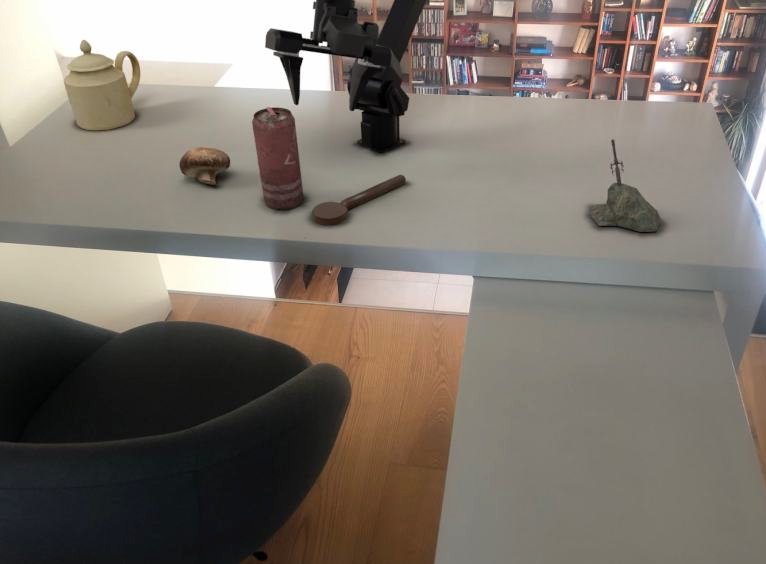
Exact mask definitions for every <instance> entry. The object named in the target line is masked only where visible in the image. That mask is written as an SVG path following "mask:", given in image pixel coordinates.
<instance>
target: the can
mask: <svg viewBox="0 0 766 564" xmlns="http://www.w3.org/2000/svg"><path fill="white" fill-rule="evenodd" d="M251 125H252V132H253V137H254V144H255V151H256V156H257V157H256V158H257V164H258V171H259V176H260V177H259V178H260V184H261V191H262V197H263V202H264V204H265V205H266V206H267V207H268V208H270V209H272V210H275V211H288V210H292V209H295V208H297V207H299V206H300V205H301V204H302V202H303V200H304V191H303V188H304V187H303V180H302V172H301V163H300V162H301V161H300V153H299V146H298V135H297V127H296V126H297V125H296V118H295V117H294V115H293V114H292V111H291V110H290V109H288V108H285V107H270V106H267V107H266V108H262V109H259V110H257V111H255V112H254V113H253V117H252V121H251Z"/></svg>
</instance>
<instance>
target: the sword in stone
mask: <svg viewBox="0 0 766 564" xmlns="http://www.w3.org/2000/svg"><path fill="white" fill-rule="evenodd" d="M610 142H611V147H612V153H613V161H611V163H610V165H609V166H610V170H611V174H612V176H613V177H614V172H615V177H616V182H613V183H612V184H611V185H610V186H609V187H608V188H607V197H606V198H607V200H606V203H601V204H596V205H594V206H592V208H591V211H590V217H591V218H592V219H593V221H594V222H595V223H596V224H597V225H598V226H599V227H605V226H611V227H612V226H617V227H620V228H625V229H627V230H631V231H632V230H633V231H636V232H640V233H644V232H645V233H646V232H647V233H648V232H657V231H658V229H659V227H660V226H661V223H662V220H661V217H660V215H659V211H658V210H657V209H656V208H655V207H654V206H652V204H651V203H649V202H648V200H646V199H645V197H644V196H643V195H642V194H641V193H642V192H640V191H639V189H638V188H637V187H634V186H631V185H628V184H625V183H622V178H621V171H622V172H624V169H623V168H624V167H625V166H624V162H623V161H622V160H621V159H620V161H619V159H618V157H617V150H616V143H615V142H616V141H615V139H614V138H612V139H611V140H610ZM614 165H615V169H613V166H614ZM619 165H620V166H621V170H620V167H619Z"/></svg>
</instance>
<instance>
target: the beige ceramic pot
mask: <svg viewBox="0 0 766 564" xmlns="http://www.w3.org/2000/svg"><path fill="white" fill-rule="evenodd" d="M79 50H80V51H81V52H82V53H83V54H81V55H78V56H76V57H74V58H73V59H71V61H70V63H68V64H67V65H66V69H67V70H68V71H69V74H68V75H66V76H65V77H63V84H64V88H65V92H66V95H67V98H68V101H69V104H70V108H71V110H72V114H73V116H74V118H75V123H76V125H77V126H78V127H79V128H81V129H83V130H87V131H107V130H108V131H109V130H114V129H118V128H121V127H124V126H126V125H128V124H130V123H131V122H132V121H134V119H135V118H136V112H135V110H134V105H133V100H132V99H133V97H134V95H135V93H136V92H137V90H138V87H139V84H140V81H141V66H140V63H139V60H138V58H137V56H136V55H135V54H134V53H133V52H131V51H129V50H123V51H119V52H118V53H117V54H116V56H115V58H114V59H115V60H113V59H112V58H110V57H108V56H106V55H104V54H102V53H92V45H91V44H90V43H89V42H88V41H87V40H85V39H82V40H81V41H80V44H79ZM126 57H127V58H128V60H129V61H130V64H131V69H132V72H131V73H132V76H131V81H130V83H129V85H128V81H127V79H126V74H125V71H124V70H123V66H124V65H123V63H124V60H125V58H126Z"/></svg>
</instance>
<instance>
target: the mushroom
mask: <svg viewBox="0 0 766 564" xmlns="http://www.w3.org/2000/svg"><path fill="white" fill-rule="evenodd" d="M178 166H179V169H180V173H181V174H182V175H183V176H187V177H191V178H196V179H197V181H198V182H200V183H202V184H206V185H207V184H208V185H211V186H215V185H217V181H216V176H217V175H218V174H220V173H223V172H225V171H227V170H228V169H229V168H230V167H231V158H230V156H229V155H228V154H227V153H226V152H225V151H223V150H221V149H218V148H215V147H203V146H200V147H194V148H191V149H189V150H188V151H186V152H185V153H184V154H183V155H182V157H181V158H180V160H179V165H178Z"/></svg>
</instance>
